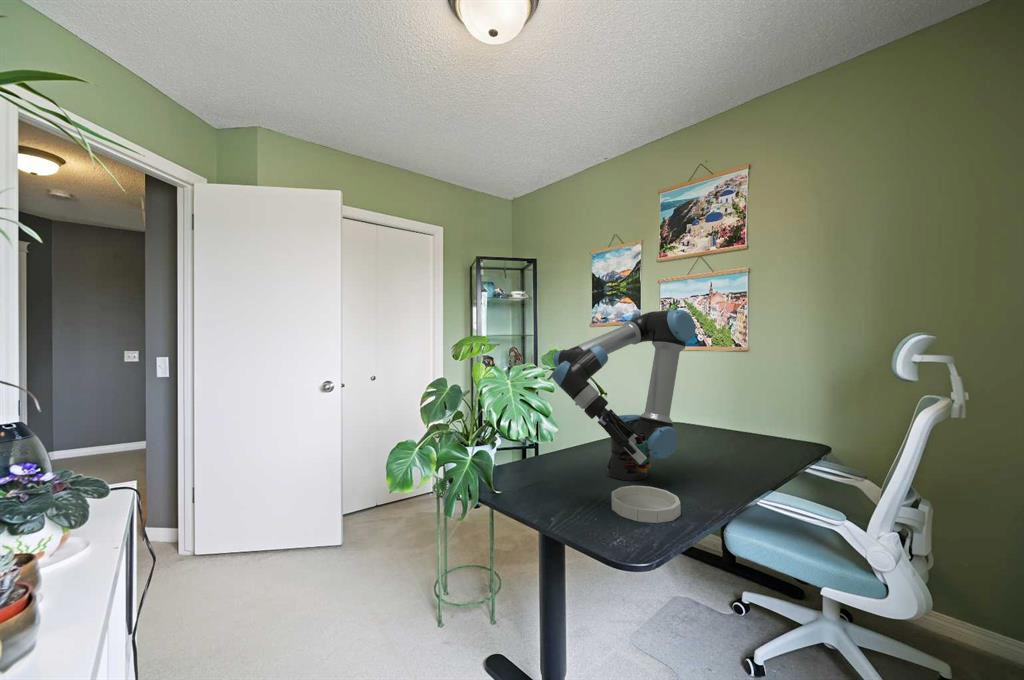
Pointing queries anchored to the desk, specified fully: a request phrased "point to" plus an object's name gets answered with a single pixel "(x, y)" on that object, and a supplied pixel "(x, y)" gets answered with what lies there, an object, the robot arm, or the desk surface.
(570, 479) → the desk surface
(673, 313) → the robot arm
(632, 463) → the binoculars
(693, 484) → the desk surface
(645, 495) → the dish
